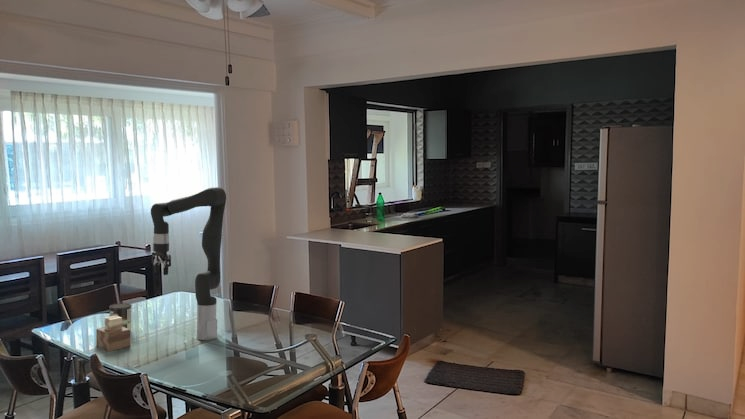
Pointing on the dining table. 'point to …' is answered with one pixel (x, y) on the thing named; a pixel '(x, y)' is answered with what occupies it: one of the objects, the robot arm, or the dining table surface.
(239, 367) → the dining table surface
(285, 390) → the dining table surface
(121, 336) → the walnut stand
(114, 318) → the birch cube
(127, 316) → the coffee can
